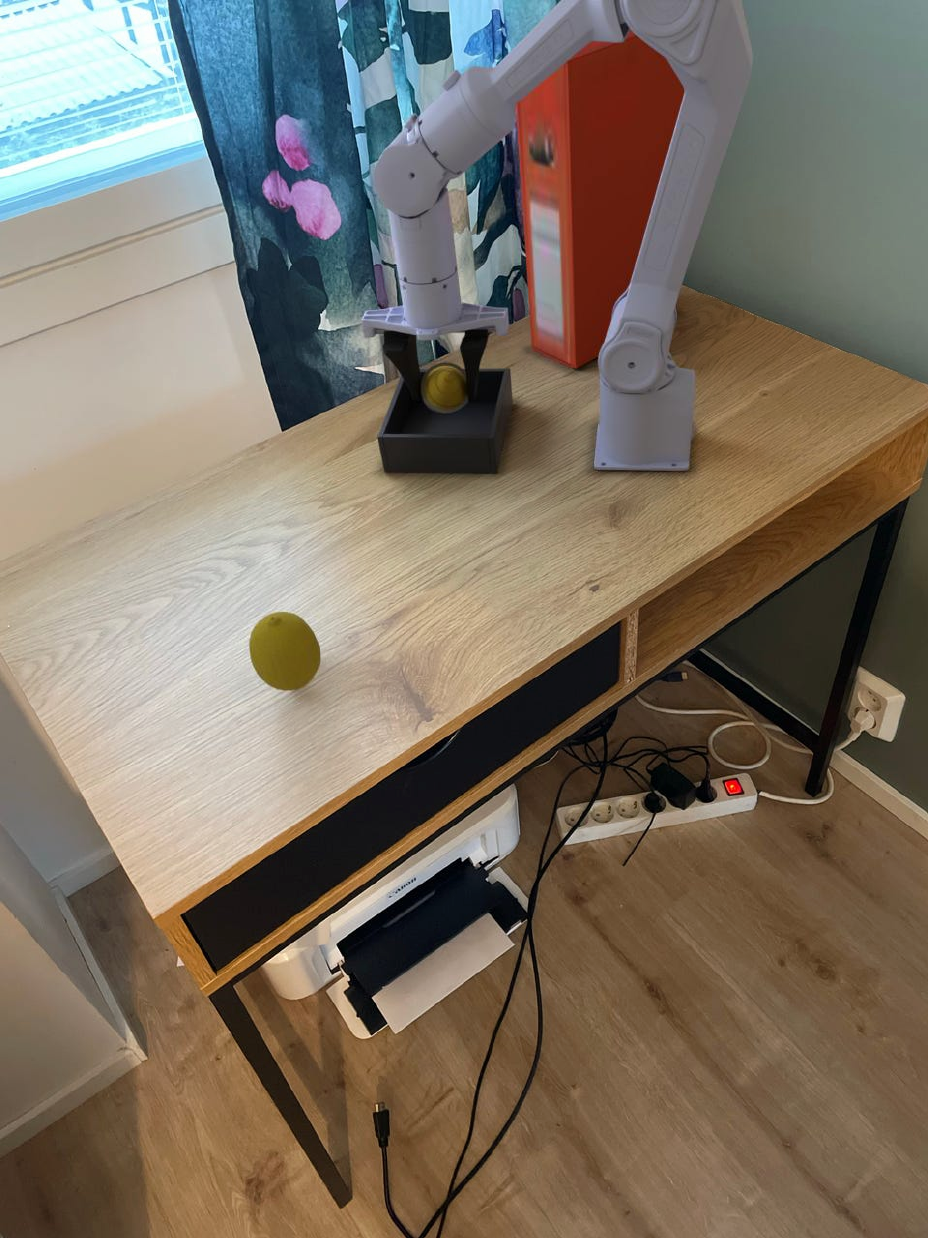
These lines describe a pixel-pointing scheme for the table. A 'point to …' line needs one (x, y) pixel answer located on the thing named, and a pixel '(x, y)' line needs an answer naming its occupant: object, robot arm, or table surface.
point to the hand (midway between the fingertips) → (444, 395)
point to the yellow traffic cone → (444, 388)
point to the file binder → (591, 186)
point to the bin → (448, 430)
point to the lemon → (284, 651)
